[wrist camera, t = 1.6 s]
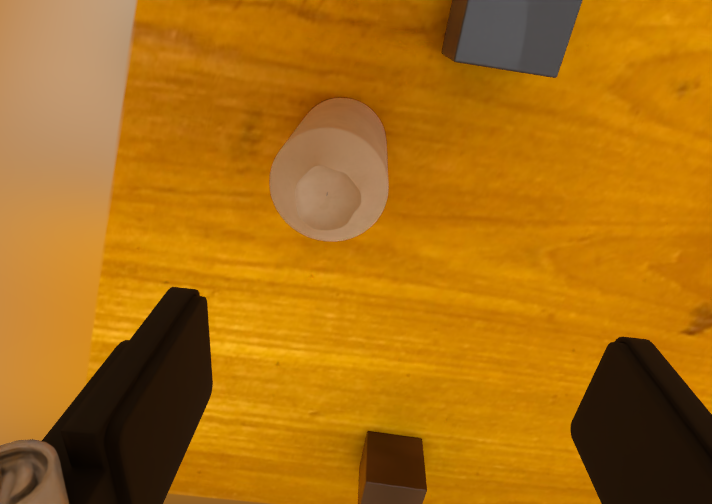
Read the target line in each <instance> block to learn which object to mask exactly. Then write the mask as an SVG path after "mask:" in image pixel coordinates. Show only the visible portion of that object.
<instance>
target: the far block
mask: <svg viewBox="0 0 712 504" xmlns="http://www.w3.org/2000/svg"><path fill="white" fill-rule="evenodd" d="M426 492H427V485H426V475H425V465H424V455H423V444H422V439H420V438H413V437H406V436H398V435H391V434H384V433H377V432H370V431H368V432H367V436H366V440H365V445H364V449H363V454H362V458H361V462H360V467H359V489H358V504H422V503H423V500H424V497H425V494H426Z"/></svg>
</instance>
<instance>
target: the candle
mask: <svg viewBox="0 0 712 504" xmlns="http://www.w3.org/2000/svg"><path fill="white" fill-rule="evenodd" d="M269 182H270V192H271V197H272V200H273V203H274V205H275V207H276V209H277V211H278V212H279V214H280V215H281V217H282V218H283V219H284V220H285V221H286V222H287V223H288V224H289V225H290V226H291V227H292V228H294V229H295V230H296V231H298V232H300V233H301V234H303V235H305V236H308V237H310V238H313V239H316V240H322V241H342V240H347V239H350V238H353V237H355V236H358V235H360V234H361V233H363V232H365V231H366V230H367V229H369V228H370V227H371V226H372V225H373V224H374V223H375V222H376V221H377V219H378V218H379V217H380V215H381V213H382V211H383V210H384V207H385V204H386V201H387V197H388V164H387V142H386V135H385V130H384V127H383V125H382V123H381V121H380V119H379V118H378V116H377V115H376V114H375V113H374V111H373V110H371V109H370V108H369V107H368V106H366V105H365V104H363V103H361V102H359V101H357V100H354V99H350V98H333V99H329V100H326V101H323V102H321V103H320V104H318V105H316V106H315V107H314V108H313V109H312V110H311V111H310V112H309V113H308V114H307V115H306V116H305V118H304V119H303V120H302V122H301V123H300V124H299V126H298V127H297V128H296V130H295V131H294V132H293V134H292V135H291V136H290V138H289V139H288V140H287V142H286V143H285V144H284V146H283V147H282V148H281V150H280V151H279V152H278V154H277V156H276V158H275V159H274V162H273V164H272V167H271V172H270V181H269Z"/></svg>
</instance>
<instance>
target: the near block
mask: <svg viewBox="0 0 712 504" xmlns="http://www.w3.org/2000/svg"><path fill="white" fill-rule="evenodd" d="M581 3H582V0H453V1H452V5H451V10H450V15H449V19H448V24H447V29H446V33H445V38H444V43H443V48H442V54H443V55H445V56H447V57H448V58H450V59H451V60H453V61H455V62H459V63H465V64H471V65H477V66H484V67H490V68H496V69H502V70H509V71H515V72H521V73H528V74H534V75H540V76H546V77H553V78H556V77H557V75H558V72H559V69H560V66H561V63H562V60H563V57H564V54H565V51H566V48H567V45H568V42H569V39H570V36H571V33H572V30H573V27H574V24H575V21H576V18H577V15H578V12H579V9H580V6H581Z"/></svg>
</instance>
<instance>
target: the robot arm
mask: <svg viewBox="0 0 712 504" xmlns="http://www.w3.org/2000/svg"><path fill="white" fill-rule="evenodd" d="M212 385H213V381H212V367H211V353H210V338H209V324H208V309H207V300H206V297H202V296H200V295H199V292H198V290H196V289H187V288H178V287H171V288H170V289H169V290H168V291H167V292H166V294H165V295H164V296H163V297H162V299H161V300H160V301H159V303H158V304H157V305H156V307H155V308H154V309H153V310H152V312H151V313H150V314H149V316H148V317H147V318H146V320H145V321H144V322H143V324H142V325H141V326H140V327H139V329H138V330H137V331H136V333H135V334H134V335H133V337H132V338H131V339H130V340H125V341H123V342H121V343H120V344H119V345H118V346H117V347H116V348H115V349H114V350H113V352H112V353H111V354H110V355H109V357H108V358H107V359H106V360H105V362H104V363H103V364H102V366H101V367H100V368H99V369H98V371H97V372H96V373H95V374H94V376H93V377H92V378H91V379H90V381H89V382H88V383H87V384H86V386H85V387H84V388H83V390H82V391H81V392H80V393H79V395H78V396H77V397H76V398H75V400H74V401H73V402H72V404H71V405H70V406H69V407H68V409H67V410H66V411H65V412H64V414H63V415H62V416H61V417H60V419H59V420H58V421H57V422H56V424H55V425H54V426H53V427H52V429H51V430H50V431H49V432H48V434H47V435H46V436H45V437H44V439H43V440H42V441H38V440H33V439H32V440H19V441H14V442H11V443H7V444H4V445H1V446H0V504H163V502H164V500H165V498H166V495H167V493H168V491H169V489H170V487H171V484H172V482H173V480H174V478H175V475H176V473H177V471H178V469H179V466H180V464H181V462H182V460H183V457H184V455H185V453H186V451H187V448H188V446H189V444H190V442H191V439H192V437H193V435H194V433H195V430H196V428H197V426H198V424H199V421H200V419H201V417H202V415H203V412H204V410H205V408H206V405H207V403H208V401H209V399H210V396H211V392H212ZM571 436H572V439H573V441H574V444H575V446H576V448H577V450H578V452H579V455H580V457H581V459H582V461H583V463H584V466H585V468H586V470H587V472H588V474H589V477H590V479H591V481H592V483H593V486H594V488H595V490H596V492H597V494H598V497H599V499H600V501H601V503H602V504H712V414H711V413H710V412H709V411H708V410H707V408H706V407H705V406H704V405H703V404H702V402H701V401H700V400H699V399H698V398H697V396H696V395H695V394H694V393H693V392H692V390H691V389H690V388H689V387H688V385H687V384H686V383H685V382H684V381H683V379H682V378H681V377H680V376H679V375H678V373H677V372H676V371H675V370H674V369H673V367H672V366H671V365H670V364H669V363H668V361H667V360H666V359H665V358H664V356H663V355H662V354H661V353H660V352H659V350H658V349H657V348H656V347H655V346H654V344H653V343H652V342H650V341H649V340H646V339H639V338H629V337H619V338H618V339H616V341H615V342H611V343H610V344H609V345H608V346H607V348H606V350H605V352H604V354H603V356H602V358H601V361H600V363H599V365H598V367H597V369H596V371H595V373H594V375H593V378H592V380H591V382H590V384H589V386H588V388H587V390H586V392H585V395H584V397H583V399H582V401H581V403H580V405H579V407H578V409H577V412H576V414H575V416H574V418H573V420H572V423H571Z"/></svg>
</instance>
